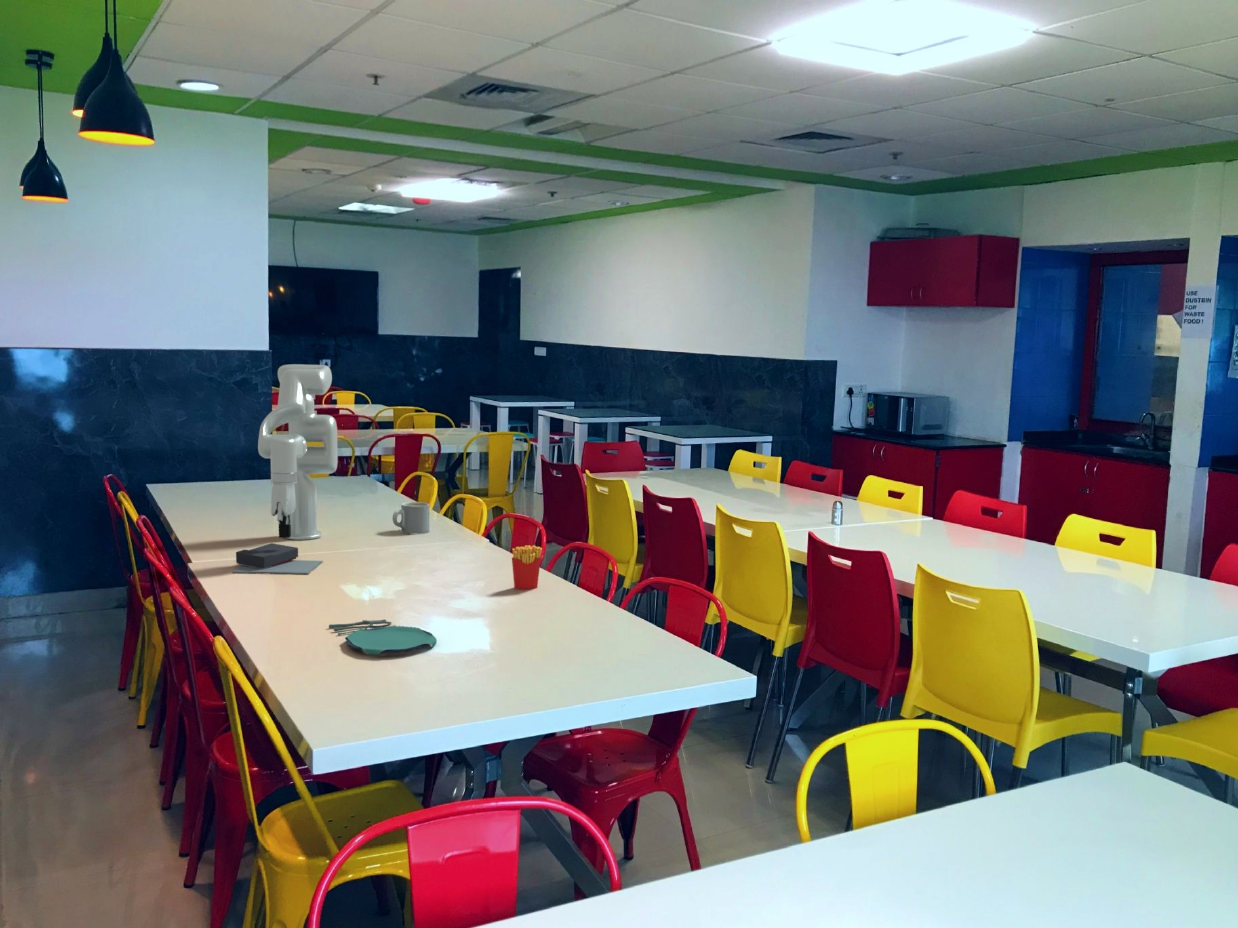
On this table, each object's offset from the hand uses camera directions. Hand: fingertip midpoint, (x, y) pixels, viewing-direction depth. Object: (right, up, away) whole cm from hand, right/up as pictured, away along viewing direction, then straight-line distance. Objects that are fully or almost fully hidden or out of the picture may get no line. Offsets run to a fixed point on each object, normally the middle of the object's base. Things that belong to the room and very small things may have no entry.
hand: (284, 536), depth 311 cm
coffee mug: (+27, -2, +54) cm, 61 cm away
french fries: (+76, -13, -22) cm, 80 cm away
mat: (0, -9, -5) cm, 10 cm away
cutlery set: (+47, -19, -73) cm, 89 cm away
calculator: (-1, -4, +5) cm, 7 cm away
